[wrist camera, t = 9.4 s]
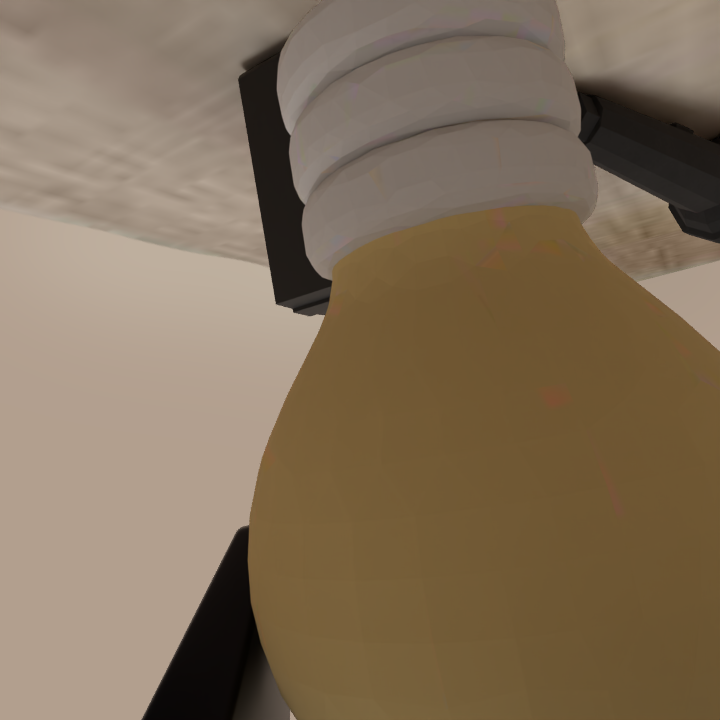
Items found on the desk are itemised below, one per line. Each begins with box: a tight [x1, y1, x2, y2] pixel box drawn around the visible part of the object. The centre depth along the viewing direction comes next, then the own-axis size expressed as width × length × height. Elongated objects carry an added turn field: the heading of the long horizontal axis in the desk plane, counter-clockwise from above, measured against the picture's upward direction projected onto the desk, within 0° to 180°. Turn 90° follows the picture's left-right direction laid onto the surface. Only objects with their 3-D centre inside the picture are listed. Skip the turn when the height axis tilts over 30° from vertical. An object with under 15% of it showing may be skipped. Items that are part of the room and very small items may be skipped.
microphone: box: [577, 92, 720, 243], centre depth 29 cm, size 6×6×20 cm
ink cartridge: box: [238, 52, 332, 316], centre depth 21 cm, size 5×2×8 cm, turn 30°
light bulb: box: [248, 0, 720, 720], centre depth 8 cm, size 6×6×10 cm
